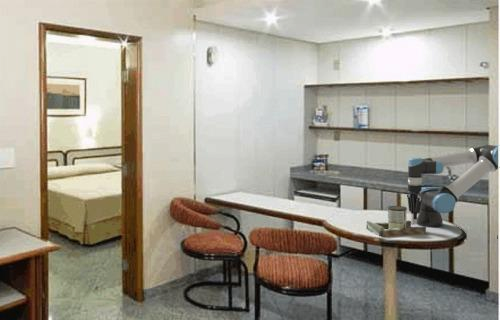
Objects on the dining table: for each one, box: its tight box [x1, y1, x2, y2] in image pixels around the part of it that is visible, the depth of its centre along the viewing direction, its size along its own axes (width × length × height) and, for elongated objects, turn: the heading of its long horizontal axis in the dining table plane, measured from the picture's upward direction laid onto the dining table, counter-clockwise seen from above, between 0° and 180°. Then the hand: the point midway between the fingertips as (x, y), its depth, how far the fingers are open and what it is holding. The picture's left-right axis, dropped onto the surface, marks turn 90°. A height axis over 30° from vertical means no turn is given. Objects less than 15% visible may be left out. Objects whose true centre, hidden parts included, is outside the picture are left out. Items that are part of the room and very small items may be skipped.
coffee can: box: [387, 205, 408, 229], centre depth 269 cm, size 10×10×14 cm
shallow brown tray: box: [366, 220, 427, 237], centre depth 269 cm, size 28×18×5 cm, turn 102°
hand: (413, 224), depth 272 cm, fingers closed
